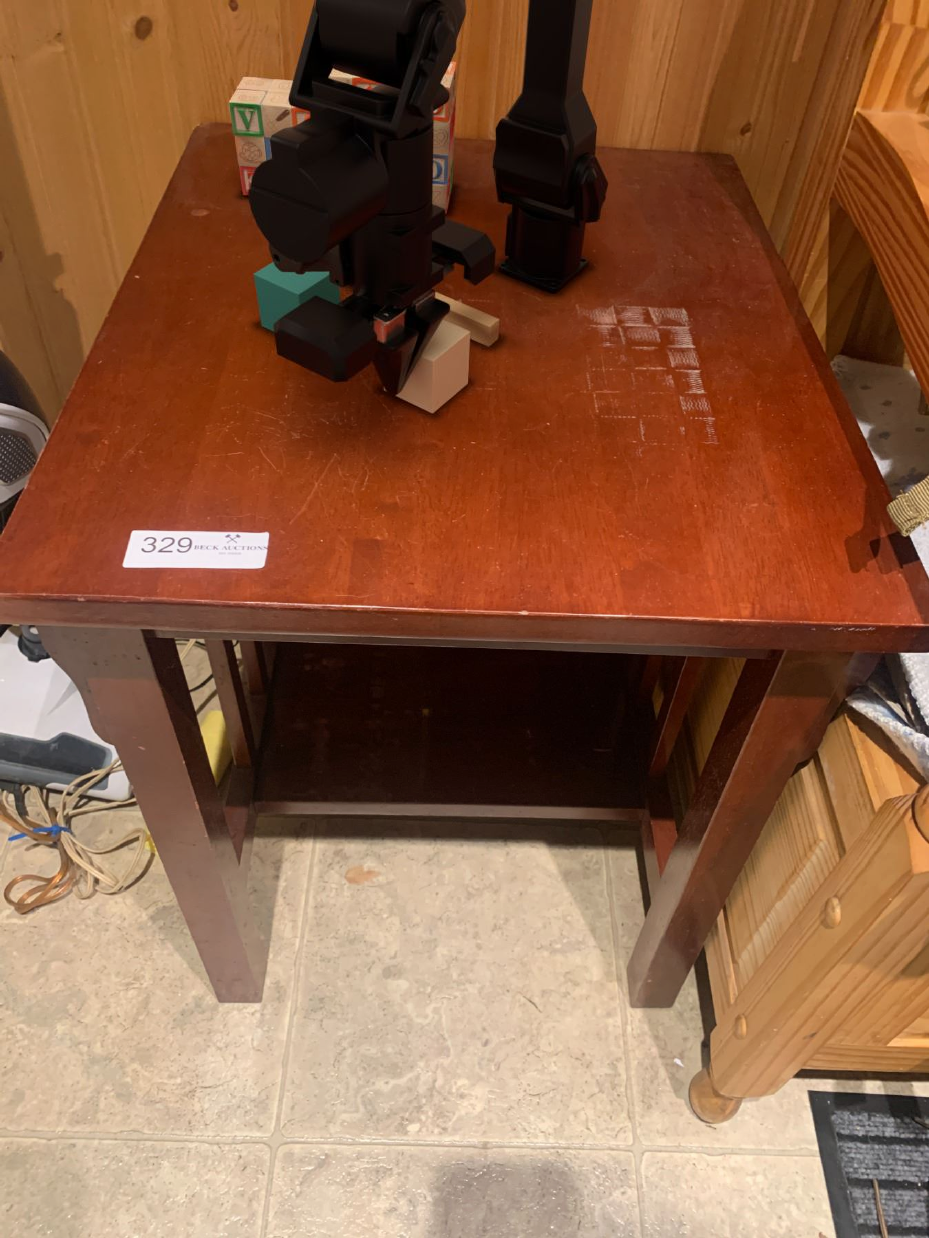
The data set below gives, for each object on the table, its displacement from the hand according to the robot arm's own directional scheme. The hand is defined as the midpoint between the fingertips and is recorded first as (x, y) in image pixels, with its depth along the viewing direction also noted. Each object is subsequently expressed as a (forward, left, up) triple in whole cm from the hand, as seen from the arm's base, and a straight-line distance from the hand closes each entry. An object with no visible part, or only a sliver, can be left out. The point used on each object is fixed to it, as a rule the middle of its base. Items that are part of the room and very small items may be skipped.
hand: (393, 391), depth 72 cm
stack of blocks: (+26, -26, -2) cm, 37 cm away
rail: (+8, -13, -2) cm, 15 cm away
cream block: (0, -4, -2) cm, 5 cm away
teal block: (+14, -5, -2) cm, 15 cm away
